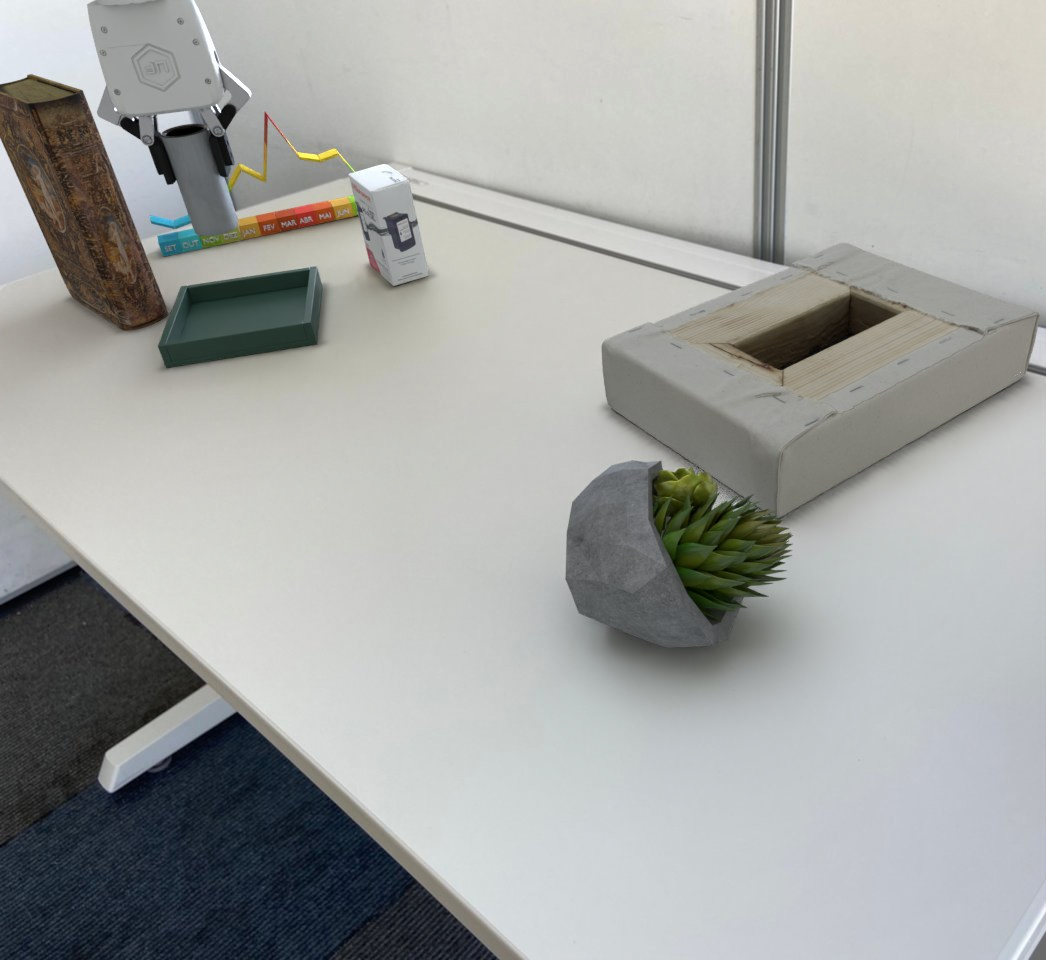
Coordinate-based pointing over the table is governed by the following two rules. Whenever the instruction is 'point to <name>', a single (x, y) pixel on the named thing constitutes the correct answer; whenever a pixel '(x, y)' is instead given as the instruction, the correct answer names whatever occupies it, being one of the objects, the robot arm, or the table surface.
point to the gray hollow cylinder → (200, 179)
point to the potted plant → (667, 554)
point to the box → (815, 371)
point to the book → (78, 200)
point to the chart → (263, 222)
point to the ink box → (389, 223)
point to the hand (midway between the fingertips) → (199, 175)
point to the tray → (242, 317)
